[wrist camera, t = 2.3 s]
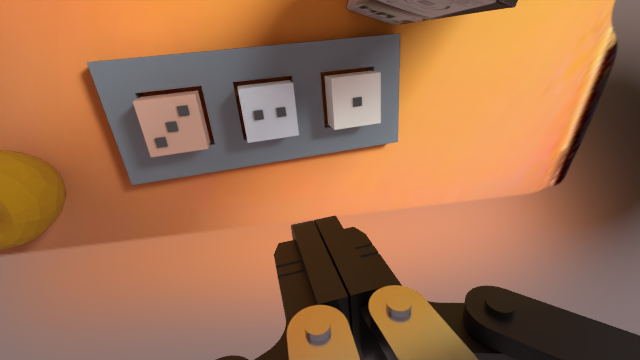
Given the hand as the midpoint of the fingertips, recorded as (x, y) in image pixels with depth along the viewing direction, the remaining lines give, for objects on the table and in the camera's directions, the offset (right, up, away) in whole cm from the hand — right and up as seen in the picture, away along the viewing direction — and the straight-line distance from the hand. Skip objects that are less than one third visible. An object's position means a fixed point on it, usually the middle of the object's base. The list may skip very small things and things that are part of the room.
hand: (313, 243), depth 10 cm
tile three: (-14, +8, +20) cm, 26 cm away
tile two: (-5, +10, +22) cm, 25 cm away
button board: (-6, +10, +24) cm, 26 cm away
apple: (-29, +3, +21) cm, 35 cm away
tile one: (+3, +11, +24) cm, 27 cm away
